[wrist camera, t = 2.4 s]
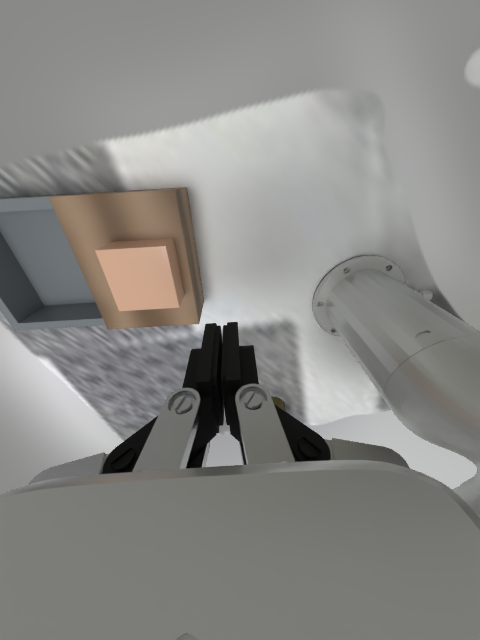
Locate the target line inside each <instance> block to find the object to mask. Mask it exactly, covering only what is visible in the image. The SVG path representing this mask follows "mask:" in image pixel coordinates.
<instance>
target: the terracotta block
mask: <svg viewBox="0 0 480 640" xmlns="http://www.w3.org/2000/svg"><path fill="white" fill-rule="evenodd" d="M95 252H96V254H97V257H98V259H99V262H100V264H101V267H102V269H103V272H104V274H105V277H106V279H107V282H108V284H109V287H110V290H111V292H112V295H113V297H114V300H115V302H116V305H117V307H118V310H119V311H132V310H148V309H165V308H179V307H180V305H181V302H182V300H183V297H184V295H185V294H184V289H183V284H182V279H181V274H180V269H179V264H178V259H177V254H176V249H175V244H174V239H173V238H168V239H151V240H134V241H117V242H110V243H108V244H106V245H104V246H102V247H100V248H98V249H97V250H95Z"/></svg>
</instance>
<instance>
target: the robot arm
mask: <svg viewBox="0 0 480 640" xmlns="http://www.w3.org/2000/svg"><path fill="white" fill-rule="evenodd" d="M432 296H433V295H432V292H431V291H418V292H417V291H415V290H414V289H412V288H410V287H409V286H407V285H405V278H404V274H403V273H402V271H401V269H400V268H399V267H398V266H397V265H396V264H395V263H393V262H391V261H390V260H388V259H385V258H383V257H379V256H372V255H371V256H361V257H356V258H353V259H350V260H348V261H346V262H343V263H342V264H340V265H339V266H337V267H335V268H334V269H333V270H332V271H331V272H329V273H328V274H327V275H326V277H325V278H324V279H323V280H322V281H321V283H320V285H319V286H318V288H317V290H316V292H315V295H314V299H313V313H314V317H315V319H316V320H317V322H318V324H319V325H320V326H321V328H322V329H324V330H325V331H326V332H328V333H330V334H332V335H336V336H340V337H341V338H342V340H343V341H344V342H345V344H346V345H347V347H348V348H349V350H350V351H351V352H352V354H353V355H354V357H355V358H356V360H357V361H358V363H359V364H360V365H361V367H362V368H363V370H364V371H365V373H366V374H367V375H368V377H369V378H370V380H371V381H372V383H373V384H374V386H375V387H376V388H377V390H378V391H379V393H380V394H381V396H382V397H383V398H384V400H385V401H386V403H387V404H388V405H389V407H390V408H391V410H392V411H393V412H394V414H395V415H396V416H397V418H398V419H399V420H400V421H401V422H402V423H403V424H404V425H405V426H406V427H407V428H408V429H409V430H410V431H412V432H413V433H414V434H416V435H417V436H419V437H421V438H422V439H424V440H426V441H429V442H430V443H433V444H435V445H438V446H440V447H443V448H445V449H448V450H451V451H453V452H456V453H458V454H460V455H462V456H464V457H466V458H467V459H469V460H470V461H472V462H473V463H474V464H475V465H476V467H477V474H476V475H475V476H474V477H472V478H471V479H469V480H467V481H466V482H464V483H462V484H461V485H460V486H459V487H457V488H455V489H453V490H452V489H450V488H449V487H447V486H446V485H444V484H443V483H441V482H439V481H438V480H435V479H434V478H431V477H429V476H427V475H425V474H423V473H420V472H418V471H415V470H412V469H410V468H409V466H408V464H407V463H406V461H405V460H404V459H403V458H402V457H401V456H400V455H399V454H398V453H396V452H395V451H393V450H392V449H389V448H386V447H382V446H376V445H370V444H365V443H359V442H353V441H346V440H341V439H335V438H332V441H331V440H325V439H323V438H322V437H321V436H320V435H319V434H317V433H316V432H314V431H313V430H311V429H310V428H308V427H307V426H306V425H304V424H303V423H301V422H300V421H298V420H297V419H295V418H294V417H292V416H291V415H289V414H288V413H287V412H285V411H284V410H282V409H281V408H279V407H278V406H276V405H275V404H274V403H273V400H272V398H271V395H270V393H269V391H268V390H267V389H266V388H265V387H263V386H261V385H259V383H258V375H257V368H256V361H255V353H254V346H253V345H251V346H239V338H238V323H237V322H228V323H227V325H224V326H223V344H222V335H221V327H220V326H217V325H216V323H212V324H206V325H205V330H204V336H203V342H202V347H201V349H192V350H191V353H190V357H189V362H188V366H187V370H186V375H185V379H184V383H183V388H181V389H178V390H176V391H174V392H172V393H171V394H170V395H169V396H168V397H167V399H166V400H165V402H164V405H163V407H162V409H161V411H160V413H159V415H158V416H157V417H156V418H154V419H153V420H152V421H150V422H149V423H148V424H146V425H145V426H144V427H143V428H141V429H140V430H139V431H137V432H136V433H135V434H133V435H132V436H131V437H129V438H128V439H127V440H125V441H124V442H123V443H121V444H120V445H119V446H117V447H116V448H115V449H114V450H113V451H112V452H111V453H110V454H105V453H100V454H97V455H93V456H90V457H86V458H83V459H79V460H76V461H72V462H69V463H65V464H62V465H58V466H55V467H51V468H49V469H47V470H44V471H42V472H41V473H40V474H38V475H37V476H36V477H34V479H33V480H32V481H31V482H30V483H29V484H28V485H25V486H21V487H18V488H15V489H12V490H10V491H7V492H5V493H2V494H0V640H480V331H478V330H476V329H475V328H473V327H472V326H470V325H468V324H467V323H465V322H463V321H462V320H460V319H458V318H457V317H455V316H454V315H452V314H450V313H449V312H447V311H445V310H444V309H442V308H441V307H439V306H437V305H436V304H434V303H432V302H431V301H429V300H431V299H432ZM224 408H225V415H226V422H227V425H230V432H231V435H232V436H234V437H235V438H236V439H237V440H238V441H239V444H240V450H241V456H242V461H243V465H236V466H220V467H205V465H206V461H207V456H208V452H209V447H210V440H211V439H212V438H213V437H214V436H216V433H219V426H220V425H223V421H224Z"/></svg>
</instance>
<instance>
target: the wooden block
mask: <svg viewBox="0 0 480 640" xmlns="http://www.w3.org/2000/svg"><path fill="white" fill-rule="evenodd" d="M48 198H49V200H50V202H51V204H52V207H53V209H54V211H55V213H56V216H57V218H58V220H59V222H60V224H61V227H62V229H63V231H64V233H65V235H66V238H67V240H68V242H69V244H70V247H71V249H72V251H73V253H74V255H75V258H76V260H77V262H78V264H79V267H80V269H81V271H82V273H83V275H84V278H85V280H86V282H87V284H88V286H89V289H90V291H91V293H92V295H93V298H94V300H95V302H96V304H97V306H98V309H99V311H100V313H101V315H102V318H103V320H104V322H105V324H106V326H107V329H122V328H139V327H155V326H172V325H188V324H199V321H200V317H201V312H202V308H203V303H204V298H203V291H202V284H201V278H200V271H199V265H198V258H197V252H196V245H195V239H194V232H193V226H192V219H191V213H190V206H189V200H188V193H187V187H184V188H167V189H150V190H132V191H115V192H98V193H83V194H73V195H63V196H53V197H48ZM168 238H173V239H174V244H175V249H176V254H177V259H178V264H179V269H180V274H181V279H182V284H183V289H184V294H185V295H184V297H183V300H182V302H181V305H180V307H179V308H165V309H148V310H132V311H119V310H118V307H117V305H116V302H115V300H114V297H113V295H112V292H111V290H110V287H109V284H108V282H107V279H106V277H105V274H104V272H103V269H102V267H101V264H100V262H99V259H98V257H97V254H96V252H95V250H97V249H98V248H100V247H102V246H104V245H106V244H108V243H110V242H117V241H134V240H151V239H168Z"/></svg>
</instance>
